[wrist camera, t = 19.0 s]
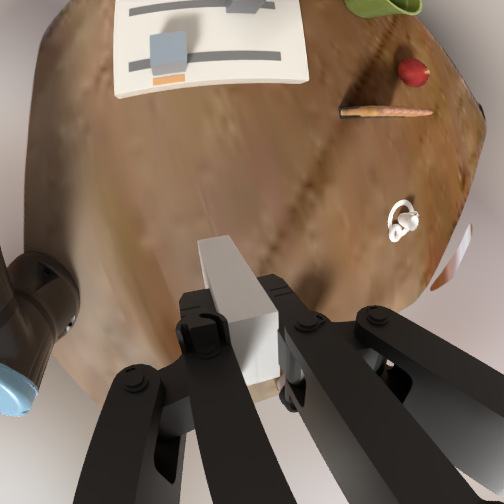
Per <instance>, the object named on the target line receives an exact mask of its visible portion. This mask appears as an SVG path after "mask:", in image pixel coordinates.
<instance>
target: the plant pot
mask: <svg viewBox="0 0 504 504" xmlns="http://www.w3.org/2000/svg"><path fill="white" fill-rule="evenodd" d="M344 1H345V4H346V6H347V8H348V9H349V10H350V11H351V12H352V13H354V14H355V15H357V16H359V17H361V18H373V17H378V16H384V15H390V14H408V15H417V14H419V13H420V12H421V9H422V0H344Z"/></svg>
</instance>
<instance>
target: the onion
mask: <svg viewBox="0 0 504 504" xmlns="http://www.w3.org/2000/svg"><path fill="white" fill-rule="evenodd" d="M397 71H398V76H399V77H400V78H401V80H402V81H403V82H404V83H405V84H407V85H408V86H411V87H420V86H422V85H424V84H425V83H426V82H427V80H428V77H429V73H430V70H429V69H427V67H426V66H425V65H424V64H423V63H422V62H420V61H419V60H417V59H413V58H406V59H404V60H402V61H401V62H400V63H399V65H398V70H397Z"/></svg>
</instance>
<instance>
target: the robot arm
mask: <svg viewBox="0 0 504 504" xmlns="http://www.w3.org/2000/svg"><path fill="white" fill-rule="evenodd" d="M197 242H198V248H199V254H200V260H201V266H202V272H203V277H204V283H205V288H206V289H202V290H197V291H192V292H187V293H184V294H183V295H182V297H181V299H180V301H179V305H180V315H181V320H180V321H179V322H178V324H177V326H176V330H175V332H176V335H177V338H178V341H179V344H180V348H181V351H182V355H181V356H180V357H179V359H177V360H176V361H175V362H174V363H172V364H170V365H169V366H167V367H164V368H162V369H160V370H156V369H155V368H153V367H151V366H150V365H145V364H136V365H131V366H129V367H126V368H124V369H123V370H122V371H120V372H119V373H118V374H117V375H116V377H115V378H114V380H113V382H112V385H111V387H110V390H109V392H108V395H107V397H106V400H105V403H104V405H103V408H102V411H101V414H100V416H99V419H98V422H97V425H96V428H95V431H94V434H93V436H92V440H91V442H90V445H89V449H88V451H87V454H86V458H85V461H84V464H83V468H82V471H81V474H80V478H79V481H78V485H77V489H76V492H75V496H74V501H73V504H179V502H180V491H181V479H182V470H183V459H184V451H185V442H186V433H187V432H189V431H191V430H194V429H195V430H196V435H197V440H198V445H199V449H200V454H201V458H202V463H203V467H204V471H205V475H206V479H207V483H208V487H209V490H210V494H211V497H212V501H213V504H297V502H296V500H295V498H294V496H293V494H292V492H291V490H290V487H289V485H288V483H287V481H286V479H285V476H284V474H283V472H282V470H281V468H280V465H279V463H278V461H277V458H276V456H275V454H274V452H273V449H272V447H271V445H270V442H269V440H268V437H267V435H266V433H265V431H264V428H263V425H262V423H261V421H260V418H259V416H258V413H257V411H256V409H255V406H254V403H253V400H252V398H251V395H250V393H249V390H248V388H247V386H248V385H251V384H255V383H259V382H263V381H266V380H270V379H273V378H277V377H280V368H281V369H282V371H283V373H284V375H285V399H286V402H287V401H289V395H290V397H291V399H292V401H293V403H294V405H295V406H296V408H297V410H298V412H299V414H300V416H301V418H302V420H303V422H304V423H305V425H306V427H307V429H308V431H309V432H310V434H311V436H312V438H313V440H314V442H315V444H316V446H317V448H318V449H319V451H320V453H321V455H322V456H323V458H324V460H325V462H326V464H327V466H328V467H329V469H330V471H331V473H332V474H333V476H334V478H335V480H336V482H337V483H338V485H339V487H340V488H341V490H342V492H343V494H344V495H345V497H346V499H347V501H348V502H349V504H504V503H503V502H500V501H485V500H483V499H481V498H480V497H479V496H478V495H477V494H476V493H475V492H474V490H473V489H472V488H471V487H470V485H469V484H468V483H467V482H466V480H465V479H464V478H463V477H462V475H460V473H459V472H458V471H457V469H456V468H458V469H459V470H461V471H462V472H463V473H465V474H466V475H468V476H469V477H471V478H473V479H474V480H475V481H477V482H478V483H480V484H481V485H483V486H484V487H486V488H487V489H489V490H491V491H492V492H494V493H495V494H497V495H499V496H501V497H503V498H504V375H503V374H502V373H500V372H498V371H497V370H495V369H493V368H491V367H490V366H488V365H486V364H485V363H483V362H481V361H480V360H478V359H476V358H475V357H473V356H471V355H469V354H468V353H466V352H464V351H463V350H461V349H459V348H457V347H456V346H454V345H452V344H450V343H449V342H447V341H445V340H444V339H442V338H440V337H438V336H436V335H435V334H433V333H431V332H430V331H428V330H426V329H424V328H423V327H421V326H419V325H417V324H416V323H414V322H412V321H410V320H408V319H407V318H405V317H403V316H401V315H399V314H398V313H396V312H394V311H392V310H391V309H388V308H386V307H383V306H376V305H374V306H367V307H364V308H362V309H361V310H360V311H358V312H357V316H356V321H348V322H331V321H330V320H329V319H328V318H327V317H326V316H325V315H323V314H321V313H318V312H315V311H309V310H308V309H307V307H306V306H305V305H304V304H303V303H302V301H301V300H300V299H299V298H298V296H297V295H296V294H295V293H293V290H292V289H291V288H290V287H289V286H288V284H287V283H286V282H285V281H284V280H283V279H282V278H280V277H278V276H276V275H274V274H271V275H266V276H261V277H257V278H256V277H255V275H254V274H253V272H252V270H251V269H250V267H249V266H248V264H247V263H246V261H245V260H244V258H243V257H242V255H241V254H240V252H239V250H238V249H237V247H236V246H235V244H234V243H233V241H232V240H231V238H230V237H229V235H224V236H219V237H213V238H207V239H202V240H197ZM79 308H80V300H79V294H78V290H77V288H76V285H75V283H74V281H73V279H72V278H71V276H70V275H69V273H68V272H67V271H66V269H65V268H64V267H63V266H62V265H61V264H60V263H58V262H57V261H56V260H54V259H53V258H51V257H49V256H48V255H45V254H42V253H38V252H27V253H24V254H22V255H20V256H18V257H17V258H16V259H15V260H14V261H13V262H12V263H11V264H10V265H9V266H8V267H6V265H5V261H4V258H3V255H2V251H1V247H0V413H1V414H4V415H8V416H23V415H25V414H27V413H28V412H29V411H30V409H31V407H32V404H33V402H34V399H35V397H36V396H37V395H38V392H39V387H40V384H41V380H42V378H43V374H44V371H45V368H46V365H47V362H48V360H49V357H50V354H51V352H52V349H53V346H54V344H55V343H56V342H57V341H58V340H60V339H61V338H62V337H63V336H64V335H65V334H67V333H68V332H69V331H70V330H71V328H72V327H73V325H74V323H75V321H76V319H77V316H78V313H79ZM387 359H388V360H390V361H391V362H393V363H394V366H388V365H387V364H386V362H387ZM454 466H455V467H456V468H455V467H454Z"/></svg>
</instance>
